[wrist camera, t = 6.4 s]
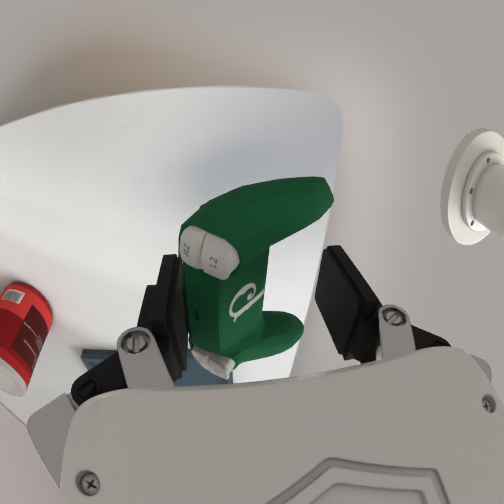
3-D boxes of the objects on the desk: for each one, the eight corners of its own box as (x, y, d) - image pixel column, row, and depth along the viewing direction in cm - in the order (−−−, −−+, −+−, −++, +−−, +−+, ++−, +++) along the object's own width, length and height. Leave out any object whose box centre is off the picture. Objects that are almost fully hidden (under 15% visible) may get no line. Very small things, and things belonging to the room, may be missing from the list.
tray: (229, 346, 32) (231, 356, 31) (234, 406, 41) (235, 413, 40) (82, 349, 30) (80, 358, 28) (122, 407, 38) (121, 415, 37)
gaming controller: (266, 159, 12) (156, 187, 8) (343, 179, 11) (250, 223, 6) (253, 308, 17) (181, 365, 13) (305, 337, 15) (238, 410, 11)
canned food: (-2, 295, 23) (-38, 358, 14) (21, 269, 22) (-25, 341, 13) (36, 334, 27) (11, 400, 18) (65, 315, 26) (36, 392, 17)
